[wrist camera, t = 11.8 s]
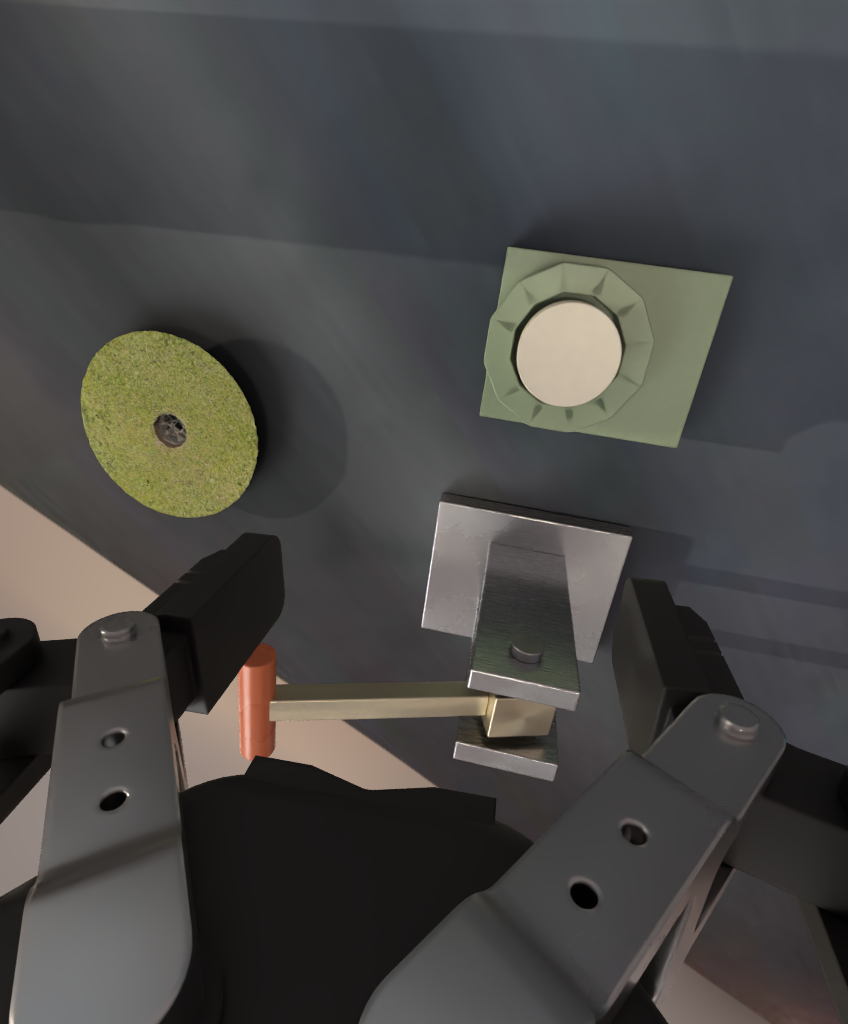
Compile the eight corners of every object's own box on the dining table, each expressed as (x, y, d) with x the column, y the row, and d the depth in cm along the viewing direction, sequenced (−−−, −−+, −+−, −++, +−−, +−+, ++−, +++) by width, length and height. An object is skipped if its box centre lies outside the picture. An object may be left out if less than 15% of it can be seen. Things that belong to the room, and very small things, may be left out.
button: (509, 390, 27) (508, 398, 25) (527, 293, 25) (527, 295, 23) (602, 405, 26) (606, 414, 25) (628, 307, 24) (634, 310, 23)
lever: (243, 726, 24) (235, 772, 22) (242, 634, 22) (233, 676, 20) (524, 717, 27) (541, 758, 25) (546, 634, 25) (567, 672, 23)
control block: (480, 405, 31) (473, 424, 27) (506, 247, 27) (502, 244, 24) (667, 436, 30) (686, 459, 26) (718, 275, 26) (748, 276, 23)
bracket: (424, 615, 37) (376, 772, 25) (442, 492, 33) (395, 611, 22) (590, 650, 36) (619, 831, 24) (629, 526, 32) (684, 671, 21)
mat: (91, 461, 37) (69, 471, 35) (115, 294, 32) (91, 296, 30) (245, 533, 37) (231, 546, 35) (293, 377, 32) (279, 383, 30)
